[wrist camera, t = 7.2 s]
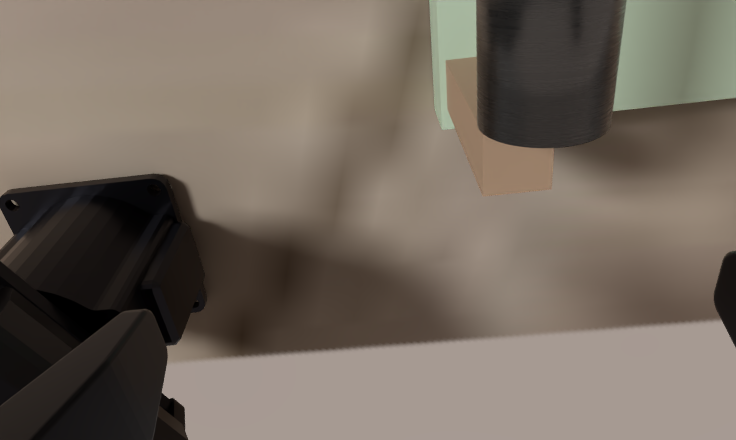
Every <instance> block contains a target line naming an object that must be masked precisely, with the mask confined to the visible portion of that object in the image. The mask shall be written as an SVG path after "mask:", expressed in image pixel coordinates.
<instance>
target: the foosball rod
mask: <svg viewBox="0 0 736 440" xmlns="http://www.w3.org/2000/svg"><path fill="white" fill-rule="evenodd" d="M626 1H627V0H476V50H477V126H478V129H479V130H480V132H481V133H482V134H484V135H485V136H487V137H488V138H490V139H492V140H495V141H498V142H500V143H504V144H508V145H513V146H519V147H527V148H560V147H568V146H574V145H579V144H583V143H587V142H590V141H592V140H595V139H597V138H599V137H601V136H603V135H604V134H605V133H606V132H607V131H608V130H609V129H610V127H611V122H612V114H613V106H614V98H615V90H616V82H617V74H618V66H619V58H620V50H621V42H622V34H623V26H624V17H625V9H626Z"/></svg>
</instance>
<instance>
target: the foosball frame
mask: <svg viewBox="0 0 736 440" xmlns="http://www.w3.org/2000/svg"><path fill="white" fill-rule="evenodd" d="M429 5H430V25H431V46H432V66H433V86H434V107H435V112H436V114H437V117H438V120H439V123H440V126H441V129H442V130H446V129H456V132H457V134H458V137H459V139H460V142H461V144H462V146H463V149H464V151H465V154H466V156H467V159H468V161H469V164H470V166H471V168H472V171H473V173H474V176H475V178H476V181H477V183H478V186H479V188H480V190H481V193H482V195H483V196H492V195H502V194H511V193H521V192H530V191H540V190H549V189H551V188H552V174H553V160H554V148H527V147H519V146H513V145H508V144H504V143H500V142H498V141H495V140H492V139H490V138H488V137H487V136H485V135H484V134H482V133H481V132H480V130H479V129H478V126H477V50H476V0H429ZM730 98H736V0H627V1H626V9H625V17H624V26H623V34H622V42H621V50H620V58H619V66H618V74H617V82H616V90H615V98H614V106H613V111H620V110H629V109H638V108H647V107H657V106H666V105H675V104H684V103H693V102H702V101H711V100H720V99H730Z"/></svg>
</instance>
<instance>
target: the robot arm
mask: <svg viewBox="0 0 736 440" xmlns="http://www.w3.org/2000/svg"><path fill="white" fill-rule="evenodd" d="M151 184H153V185H157V186H158V187H159V188H160V189H161V191H155V190H153V189H152V188H151V186H150V185H151ZM11 200H14V201H16V202H17V203H18V204H19V206H16V205H14V204H13V203H12V202H11ZM0 209H1V211H2V213H3V214H4V216H5V218H6V220H7V222H8V224H9V226H10V228H11V230H12V232H13V234H14V236H13V237H12V238H11V239H10V240H9V241H8V242H7V243H6V244H5V245H4V246H3V247H2V248H1V250H0V440H188V438H187V435H186V432H185V412H184V411H185V409H184V407H183V406H182V405H181V404H180V403H178V402H177V401H176V400H175V399H173V398H171V399H168V398H167V397H166V396H165V395H164V394H162V388H163V382H164V376H165V371H166V365H167V358H168V354H167V347H166V346H170V345H176V344H177V343H178V341H179V340H180V339H181V337H182V334H183V332H184V329H185V326H186V324H187V321H188V318H189V316H190V313H193V312H199V311H201V310H203V309H204V307H205V304H206V301H207V295H206V292H205V289H204V286H203V283H202V282H203V279H204V276H205V273H204V270H203V267H202V264H201V261H200V257H199V254H198V251H197V248H196V245H195V242H194V239H193V236H192V233H191V230H190V227H189V226H188V225H187V224H186V223H185V222H182V219H181V216H180V213H179V210H178V207H177V204H176V201H175V198H174V195H173V192H172V189H171V186H170V183H169V182H168V180H167V179H166V178H165V177H164V176H161V175H159V174H147V175H138V176H129V177H119V178H110V179H101V180H92V181H83V182H73V183H64V184H55V185H46V186H37V187H27V188H18V189H11V190H8V191H7V192H6V193H4V194H3V195H2V196H1V197H0ZM195 300H198V302H195ZM714 303H715V307H716V310H717V312H718V314H719V316H720V318H721V320H722V322H723V323H724V325H725V327H726V329H727V331H728V333H729V335H730V337H731V339H732V341H733V343H734V345H735V347H736V251H731V252H729V253H727V254H726V256H725V257H724V259H723V262H722V265H721V269H720V273H719V276H718V280H717V284H716V287H715V291H714Z"/></svg>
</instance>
